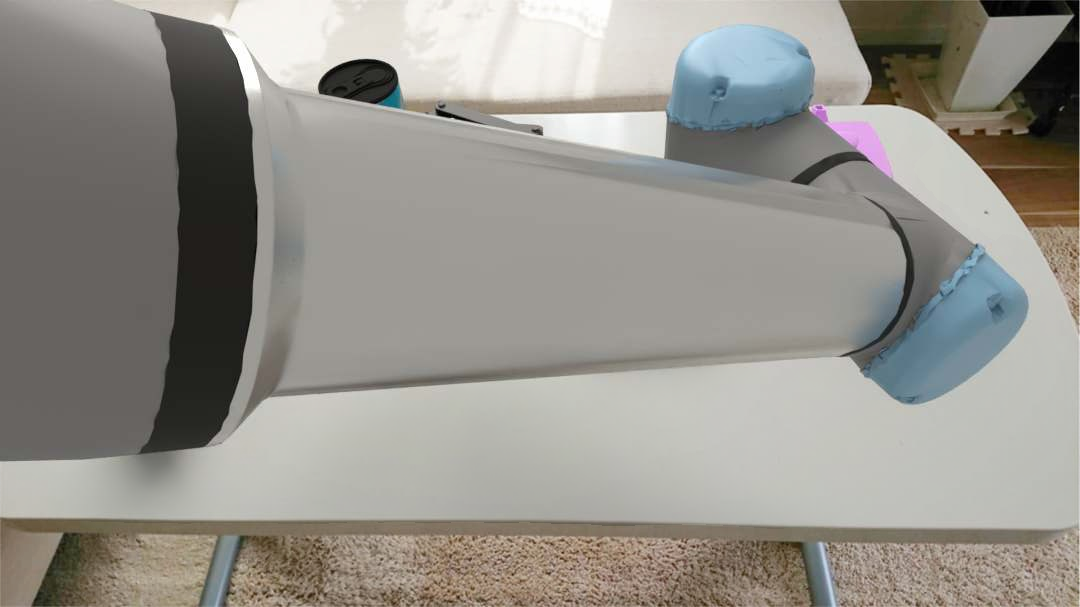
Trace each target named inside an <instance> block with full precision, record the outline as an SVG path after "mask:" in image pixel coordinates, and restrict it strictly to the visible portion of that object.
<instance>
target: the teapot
mask: <svg viewBox="0 0 1080 607" xmlns="http://www.w3.org/2000/svg"><path fill="white" fill-rule="evenodd" d="M811 112H812V113H813V114H814V115H815V116H817V117H818V118H819V119H820V120H822V121H823V122H824V123H825V124H826V125H828V126H829V127H830V128H831V129H833V130H834V131H835V132H836V133H838V134H839V135H840V136H841V137H843V138H844V139H845V140H846V141H847V142H849V143H850V144H851V145H852V146H854V147H855V148H856V149H857V150H859V151H860V152H861V153H862V154H864V155H865V156H866V157H867V158H868V160H870V161H871V162H872V163H873V164H874V165H875V166H876V167H878V168H879V169H880V170H881V171H883V172H884V173H885V174H886V175H888V176H889V177H890V178H891V179H893V180H894V174H893V171H892V168H891V164H890V162H889V158H888V155H887V152H886V150H885V148H884V144H883V143H882V141H881V139H880V137H879V135H878V134H877V132H876V130H875V128H874V127H873V126H872V124H871V123H869V122H868V121H829V119H828V114H827V109H826V107H825V105H824V104H812V107H811Z"/></svg>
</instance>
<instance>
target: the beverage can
mask: <svg viewBox="0 0 1080 607" xmlns="http://www.w3.org/2000/svg"><path fill="white" fill-rule="evenodd" d="M317 92H318V94H322V95H328V96H333V97H338V98H344V99H349V100H354V101H360V102H365V103H370V104H376V105H381V106H386V107H392V108H397V109H402V110H407V109H406V105H405V100H404V97H403V96H404V95H403V92H402V88H401V83H400V80H399V75H398V72H397V70H396V68H395V67H394V66H393V65H391V64H390V63H388V62H386V61H383V60H380V59H376V58H357V59H352V60H351V59H350V60H348V61H344V62H341V63H340V64H339V63H338V64H337V65H335V66H333V67H332V68H330V69H328V71H326V72H325V73H324V74H323V75H322V77H321V78H320V79H319V81H318V84H317Z"/></svg>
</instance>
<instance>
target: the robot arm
mask: <svg viewBox="0 0 1080 607" xmlns="http://www.w3.org/2000/svg"><path fill="white" fill-rule="evenodd" d="M815 75H816V67H815V64H814V62H813V60H812V57H811V55H810V52H809V49H808V47H806V46H805V45H804V44H803V43H802V41H800V40H799V39H798V38H796V37H794V36H792V35H791V34H789V33H786V32H784V31H782V30H781V29H777V28H774V27H769V26H765V25H764V26H763V25H759V24H758V25H757V24H729V25H725V26H720V27H719V28H717V29H715V30H709V31H706V32H703V33H701V34H699V35H697V36H696V37H694V38H693V39H692V40H690V41H689V42H688V43H687V44H686V45H685V47H684V48H683V49H682V50H681V52H680V54H679V55H678V58H677V60H676V63H675V68H674V74H673V81H672V86H671V92H670V98H669V102H667V104H666V107H665V114H666V115H665V117H666V124H665V128H666V129H665V139H664V140H665V141H664V157H657V156H653V155H649V154H647V155H646V154H642V153H637V152H631V151H626V150H620V149H615V148H610V147H605V146H600V145H593V144H588V143H583V142H578V141H572V140H567V139H563V138H556V137H552V136H546V135H544V127H543V126H542V125H540V124H530V123H529V124H528V123H515V122H513V121H509V120H507V119H503V118H500V117H497V116H493V115H491V114H488V113H484V112H481V111H478V110H476V109H473V108H472V109H471V108H468V107H466V106H463V105H459V104H456V103H453V102H450V101H447V100H439V101H437V102H435V104H434V109H433V110H431V111H426V110H425V111H420V112H418V111H413V110H407V109H406V110H402V109H397V108H392V107H386V106H381V105H376V104H370V103H365V102H360V101H354V100H349V99H344V98H338V97H333V96H328V95H322V94H319V93H317V92H312V91H306V90H301V89H296V88H295V89H294V88H291V87H285V86H280V85H279V84H277V82H275V81H274V80H273V79H272V78H270V76H269V75H268V74H267V72H266V71H265V70H264V68H263V67H262V66H261V64H260V63H259V61H258V60H257V59H256V57H255V56H254V55H253V53H252V52H251V51H250V49H249V48H248V46H247V45H246V43H245V42H244V41H243V39H241V37H240V36H238V34H237V33H236V32H234V30H231V29H229V28H226V27H222V26H219V25H218V26H217V25H214V24H209V23H204V22H201V21H195V20H191V19H186V18H182V17H177V16H173V15H168V14H165V13H161V12H160V13H159V12H155V11H150V10H146V9H141V8H138V7H135V6H132V5H129V4H126V3H123V2H119V1H117V0H0V462H39V461H40V462H41V461H42V462H43V461H82V460H83V461H84V460H85V461H86V460H96V459H105V458H117V457H127V456H135V455H136V456H137V455H146V454H155V453H165V452H175V451H184V450H193V449H202V448H211V447H215V446H219V445H221V444H223V443H224V442H226V440H228V439H229V438H230V437H231V436H232V435H233V434H234V433H235V432H236V431H237V429H239V427H240V426H241V425H242V424H243V423H244V422H245V421H246V420H247V419H248V418H249V417H250V416H251V415H252V413H253V412H254V411H255V410H256V409H257V408H258V407H259V406H260V404H262V402H263V401H265V400H266V399H269V398H281V397H294V396H295V397H296V396H309V395H310V396H311V395H321V394H337V393H351V392H363V391H364V392H365V391H377V390H393V389H407V388H418V387H432V386H434V387H435V386H446V385H447V386H449V385H459V384H462V385H463V384H474V383H487V382H489V383H490V382H502V381H515V380H517V381H518V380H529V379H544V378H556V377H558V378H559V377H570V376H571V377H573V376H585V375H599V374H613V373H625V372H626V373H627V372H639V371H652V370H653V371H654V370H669V369H680V368H681V369H682V368H683V369H684V368H694V367H695V368H696V367H697V368H698V367H710V366H724V365H736V364H738V365H739V364H749V363H750V364H751V363H763V362H778V361H792V360H794V361H795V360H806V359H820V358H850V359H851V360H852V361H853V363H855V365H856V366H857V367H858V368H859V372H860V373H861V375H862V376H863V377H864V378H866V379H869V380H871V381H872V382H874V383H875V385H877V386H878V387H880V389H881V390H883V391H884V392H885V393H886V394H887V395H888V396H889V397H890V398H891V399H893V400H895V401H897V402H898V403H900V404H904V405H909V406H910V405H911V406H912V405H913V406H914V405H921V404H925V403H928V402H931V401H934V400H936V399H939V398H940V397H943V396H945V395H946V394H948V393H949V392H951V391H954V390H955V389H956V388H958V387H959V386H961V385H962V384H964V383H965V382H966V381H968V380H969V379H971V378H972V377H974V376H975V375H977V374H978V373H979V372H980V371H981V370H983V369H984V368H985V367H986V366H987V365H988V364H990V363H991V362H992V361H993V359H995V358H996V357H997V356H998V355H999V354H1000V353H1001V352H1002V351H1003V350H1004V349H1005V348H1006V347H1007V346H1008V345H1009V344H1010V343H1011V342H1012V341H1013V339H1015V337H1016V336H1017V334H1018V333H1019V331H1020V330H1021V329H1022V327H1023V326H1024V324H1025V321H1026V319H1027V318H1028V312H1029V307H1030V304H1029V303H1030V302H1029V296H1028V295H1027V292H1026V290H1025V288H1024V287H1023V286H1022V285H1021V283H1019V282H1018V281H1017V280H1016V279H1014V278H1013V277H1012V276H1011V275H1010V274H1009V273H1008V272H1007V271H1006V270H1005V269H1004V268H1003V267H1002V266H1001V265H1000V264H999V263H998V262H997V261H996V260H994V258H993V257H992V256H990V255H989V253H987V252H986V248H985V246H983V245H982V244H981V243H980V242H977V243H973V241H971V240H970V239H968V238H967V237H966V236H964V235H963V234H962V233H961V232H960V231H958V230H957V229H956V228H955V227H953V226H952V225H951V224H950V223H949V222H947V221H946V220H944V219H943V218H942V217H941V216H939V215H938V213H936V212H935V211H933V210H932V209H931V208H929V207H928V206H927V205H925V203H923V202H922V201H921V200H920V199H918V198H917V197H915V195H913V194H912V193H910V192H909V191H908V190H907V189H905V187H903V186H902V185H901V184H900V183H898V182H896V181H895V180H894V178H893V179H891V178H890V177H889V176H888V175H886V174H885V173H884V172H883V171H881V170H880V169H879V168H878V167H876V166H875V165H874V164H873V163H872V162H871V161H870V160H868V158H867V157H866V156H865V155H864V154H862V153H861V152H860V151H859V150H857V149H856V148H855V147H854V146H852V145H851V144H850V143H849V142H847V141H846V140H845V139H844V138H843V137H841V136H840V135H839V134H838V133H836V132H835V131H834V130H833V129H831V128H830V127H829V126H828V125H826V124H825V123H824V122H823V121H822V120H820V119H819V118H818V117H817V116H815V115H814V114H813V113H812V110H810V102H811V101H812V98H813V97H814V96H815V90H814V85H815Z"/></svg>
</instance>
